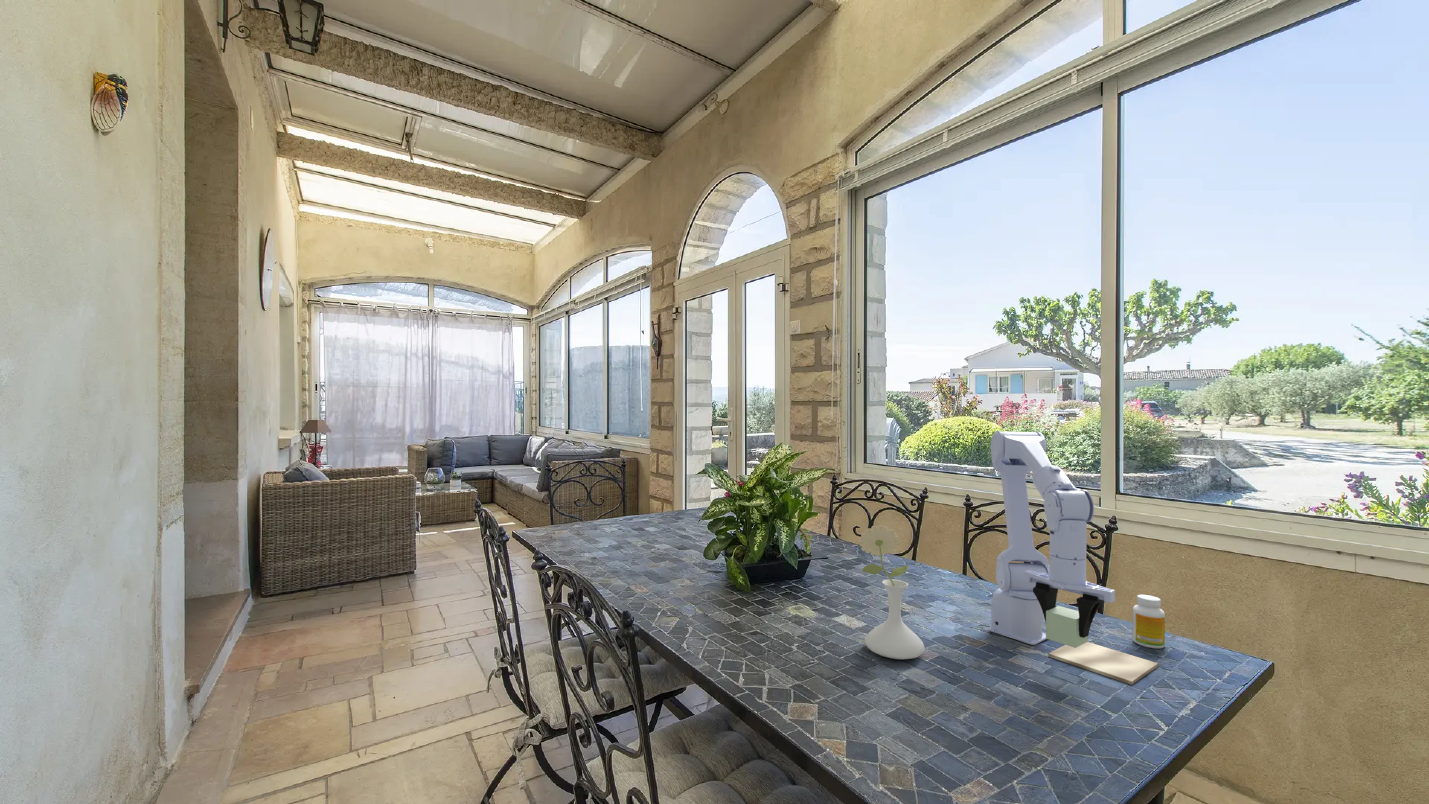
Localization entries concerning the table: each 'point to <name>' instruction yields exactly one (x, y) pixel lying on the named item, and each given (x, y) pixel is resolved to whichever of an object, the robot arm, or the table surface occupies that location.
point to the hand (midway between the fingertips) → (1066, 631)
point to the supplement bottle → (1148, 622)
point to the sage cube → (1064, 626)
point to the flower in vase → (893, 633)
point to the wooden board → (1105, 661)
